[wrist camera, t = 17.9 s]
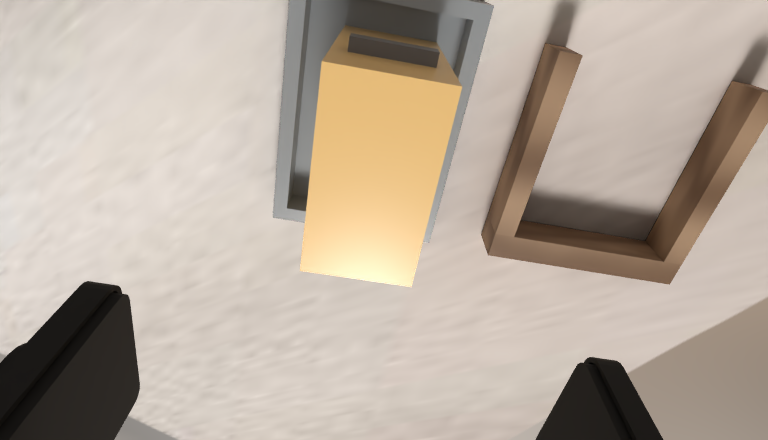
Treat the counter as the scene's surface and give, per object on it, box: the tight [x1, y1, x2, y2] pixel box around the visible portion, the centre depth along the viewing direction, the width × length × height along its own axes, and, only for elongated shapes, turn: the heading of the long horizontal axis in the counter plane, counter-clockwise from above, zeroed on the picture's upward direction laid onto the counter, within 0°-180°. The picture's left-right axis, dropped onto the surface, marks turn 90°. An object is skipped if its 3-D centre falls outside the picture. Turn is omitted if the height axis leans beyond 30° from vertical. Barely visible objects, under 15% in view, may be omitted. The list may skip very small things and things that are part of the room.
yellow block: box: [300, 25, 462, 287], centre depth 23 cm, size 10×5×10 cm, turn 170°
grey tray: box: [273, 0, 494, 243], centre depth 27 cm, size 14×10×2 cm
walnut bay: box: [481, 43, 768, 284], centre depth 28 cm, size 13×12×2 cm
